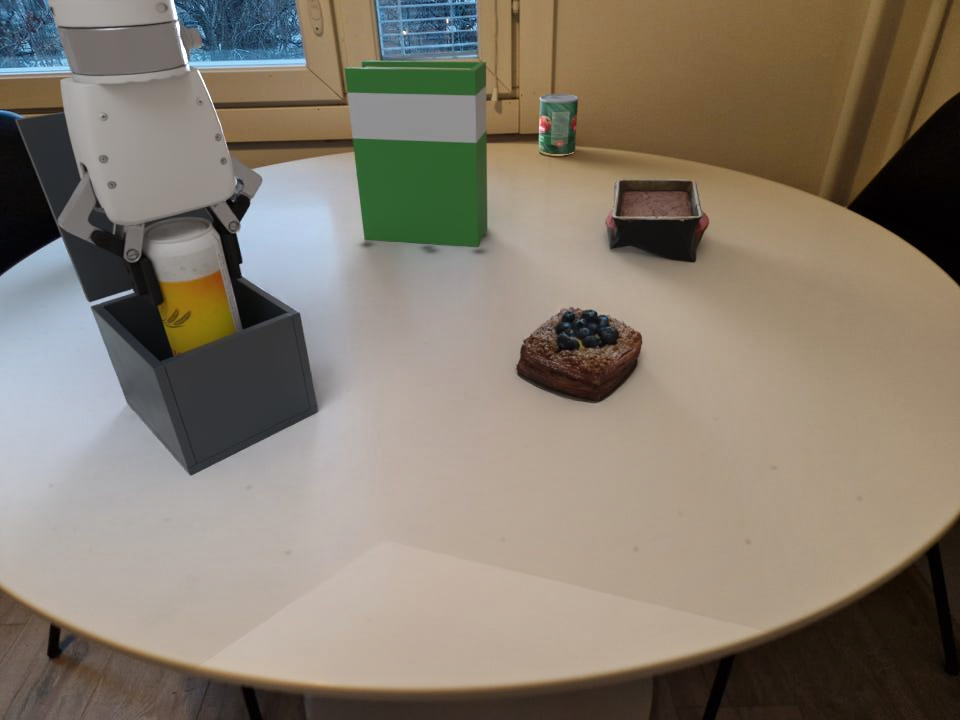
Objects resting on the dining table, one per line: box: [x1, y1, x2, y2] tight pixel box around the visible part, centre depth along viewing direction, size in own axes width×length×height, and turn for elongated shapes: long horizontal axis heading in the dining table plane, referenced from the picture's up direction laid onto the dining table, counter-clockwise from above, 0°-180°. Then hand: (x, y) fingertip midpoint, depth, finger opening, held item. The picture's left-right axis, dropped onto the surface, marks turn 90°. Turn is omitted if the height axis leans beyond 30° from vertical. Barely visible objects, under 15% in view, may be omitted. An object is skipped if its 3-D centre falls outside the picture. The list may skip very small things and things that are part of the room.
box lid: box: [14, 111, 213, 303], centre depth 59 cm, size 15×13×6 cm
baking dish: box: [604, 177, 710, 263], centre depth 94 cm, size 14×18×10 cm
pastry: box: [515, 306, 643, 404], centre depth 66 cm, size 11×12×6 cm
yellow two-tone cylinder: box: [142, 217, 243, 356], centre depth 56 cm, size 6×6×15 cm
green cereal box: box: [343, 59, 488, 248], centre depth 94 cm, size 18×7×24 cm, turn 79°
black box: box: [90, 275, 319, 476], centre depth 60 cm, size 15×13×11 cm
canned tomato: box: [538, 93, 579, 154], centre depth 136 cm, size 8×8×11 cm
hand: (192, 285), depth 55 cm, fingers closed on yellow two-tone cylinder, 6 cm apart
